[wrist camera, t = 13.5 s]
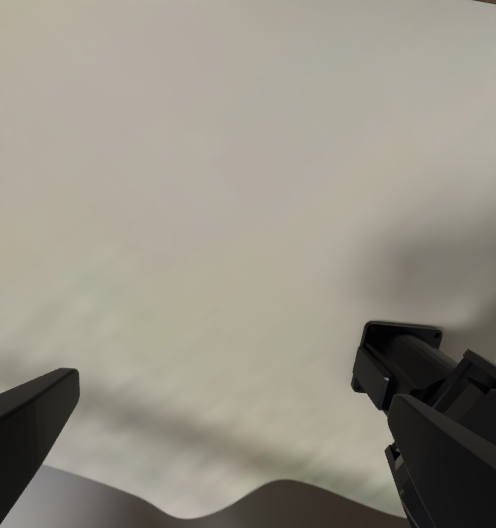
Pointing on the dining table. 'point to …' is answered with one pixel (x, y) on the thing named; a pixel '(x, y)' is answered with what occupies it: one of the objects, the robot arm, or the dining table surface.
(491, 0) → the walnut jig
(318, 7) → the dining table surface
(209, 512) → the dining table surface
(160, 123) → the dining table surface
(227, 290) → the dining table surface
